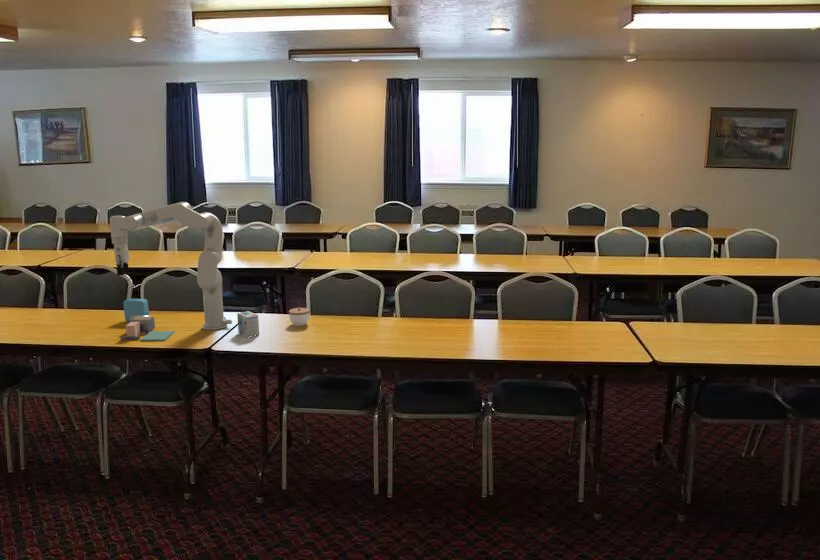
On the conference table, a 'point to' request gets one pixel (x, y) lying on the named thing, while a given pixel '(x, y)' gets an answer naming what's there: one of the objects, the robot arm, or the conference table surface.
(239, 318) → the light bulb box
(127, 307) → the data package
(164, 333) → the pad
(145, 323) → the dispenser
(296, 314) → the lidded jar
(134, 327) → the pink rectangular prism
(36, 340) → the conference table surface
